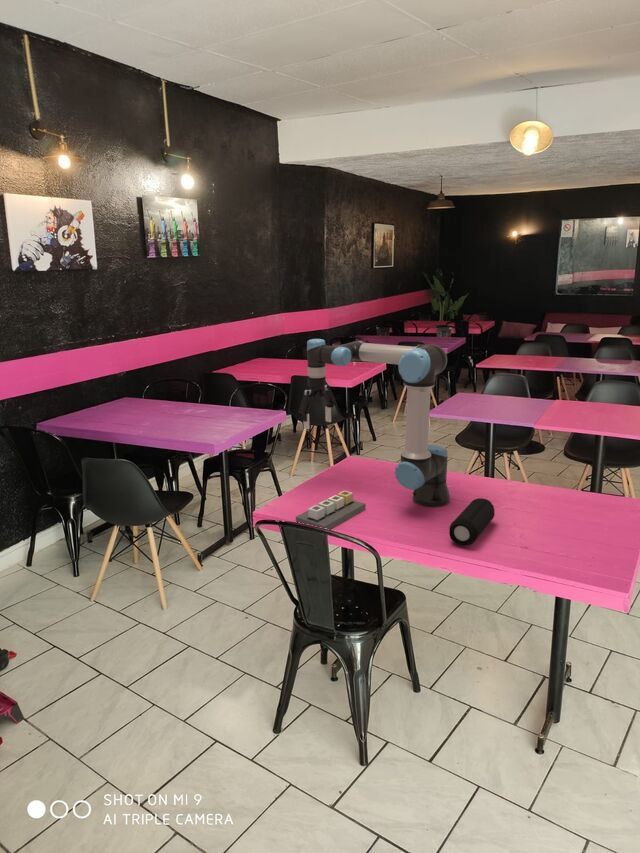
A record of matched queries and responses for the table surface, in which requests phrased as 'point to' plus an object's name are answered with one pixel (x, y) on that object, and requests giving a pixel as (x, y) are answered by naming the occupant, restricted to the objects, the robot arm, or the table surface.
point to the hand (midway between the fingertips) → (317, 425)
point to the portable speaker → (471, 522)
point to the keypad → (333, 515)
